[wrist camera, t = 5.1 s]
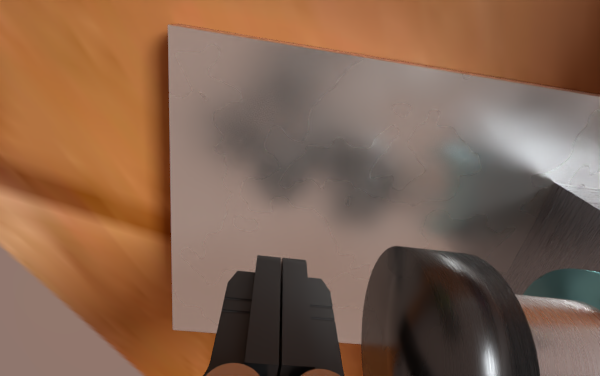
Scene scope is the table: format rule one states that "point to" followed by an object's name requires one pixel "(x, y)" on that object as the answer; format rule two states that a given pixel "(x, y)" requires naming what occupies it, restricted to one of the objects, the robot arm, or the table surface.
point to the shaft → (476, 319)
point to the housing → (366, 169)
